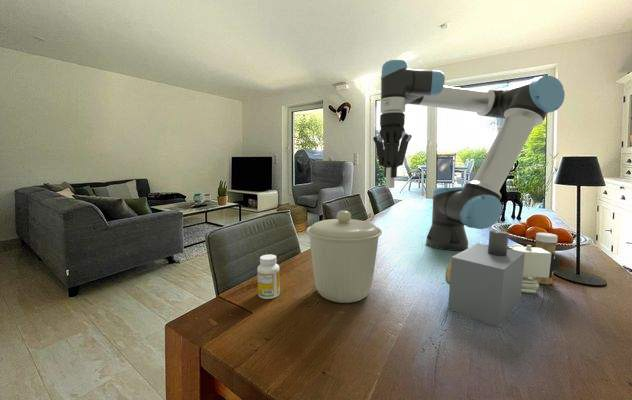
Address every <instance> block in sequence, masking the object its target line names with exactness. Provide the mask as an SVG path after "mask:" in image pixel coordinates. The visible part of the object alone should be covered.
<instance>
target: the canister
mask: <svg viewBox="0 0 632 400" xmlns="http://www.w3.org/2000/svg"><path fill="white" fill-rule="evenodd" d="M382 231H383V230H382V229H380V227H377V226H376V225H375V224H373V223H371V222H369V221H366V220H365V221H364V220H361V219H352V213H351V212H350V211H348V210H339V211H338V212H337V214H336V218H331V219H324V220H320V221H316V222H314V223H313V224H311V225H310V226H308V227H307V228H306V234H307V235H308V236H309V245H310V254H311V263H312V269H313V271H312V273H313V277H314V284H315V287H316V288H315V289H316V290H317V292H318V295H320V296H321V297H323V298H324V299H325V300H327V301H330V302H334V303H338V304H339V303H341V304H350V303H355V302H359V301H362V300H363V299H365V298H366V297H367V296H368V295H369V293H370V291H371V288H372V284H373V278H374V277H373V276H374V272H375V266H376V259H377V252H378V246H379V237H380V236H381V235H382V234H383V233H382Z"/></svg>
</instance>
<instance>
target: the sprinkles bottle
mask: <svg viewBox="0 0 632 400" xmlns="http://www.w3.org/2000/svg"><path fill="white" fill-rule="evenodd" d="M557 243H558V235H557V234H554V233H550V232H536V233H535V247H534V248H544V249H546V250H548V251H550V252H552V253H554V255H556V247H557ZM532 279H533V280H536V281H538V283H539V284H541V285H551V284H553V281H552V280H553V277H552V278H544V277H535V278H533V277H532Z"/></svg>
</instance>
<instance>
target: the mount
mask: <svg viewBox="0 0 632 400" xmlns="http://www.w3.org/2000/svg"><path fill="white" fill-rule="evenodd" d="M488 245H489V244H484V243H475V244H473V245H471V246H470V247H468V248H467V249H464V250H461V252H458V253H456V254H454V255H453V256H451V259H450V260H451V273H450V285H449V291H448V292H449V293H448V307H447V308H448V309H449V310H451V311H454V312H456V313H459V314H462V315H465V316H468V317H470V318H473V319H475V320H478V321H481V322H483V323H486V324H489V325H491V326H493V327H496V328H500V327H501V326H502V325H503V323H504V322H505V321H506V319H507V318H508V317H509V316H510V314H511V313H513V311H514V310H515V308H517V306H518V305H519V303H520V302H521V299H522V298H521V296H522V295H521V294H522V293H521V288H522V278H523V268H524V257H525V252H521V251H516V250H510V249H507V255H506V256H495V255H491V254H489V253H488Z"/></svg>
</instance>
